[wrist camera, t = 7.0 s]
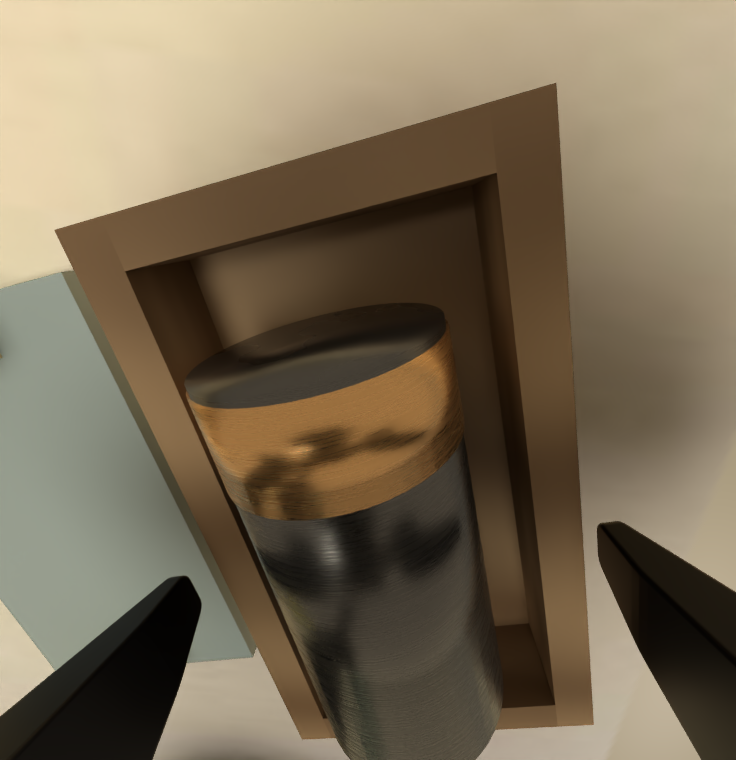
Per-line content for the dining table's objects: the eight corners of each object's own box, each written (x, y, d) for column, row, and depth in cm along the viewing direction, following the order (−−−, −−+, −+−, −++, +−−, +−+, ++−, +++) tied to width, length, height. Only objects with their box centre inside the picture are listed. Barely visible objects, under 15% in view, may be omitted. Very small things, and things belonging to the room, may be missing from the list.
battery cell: (494, 591, 13) (521, 805, 8) (347, 592, 14) (299, 777, 10) (446, 289, 9) (448, 367, 5) (257, 326, 11) (112, 416, 6)
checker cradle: (261, 632, 16) (220, 752, 13) (75, 650, 18) (-10, 763, 14) (88, 268, 11) (-66, 290, 7) (-154, 334, 13) (-385, 380, 9)
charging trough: (550, 614, 15) (593, 724, 11) (321, 635, 16) (302, 739, 13) (501, 132, 9) (556, 83, 6) (160, 227, 11) (54, 229, 7)
